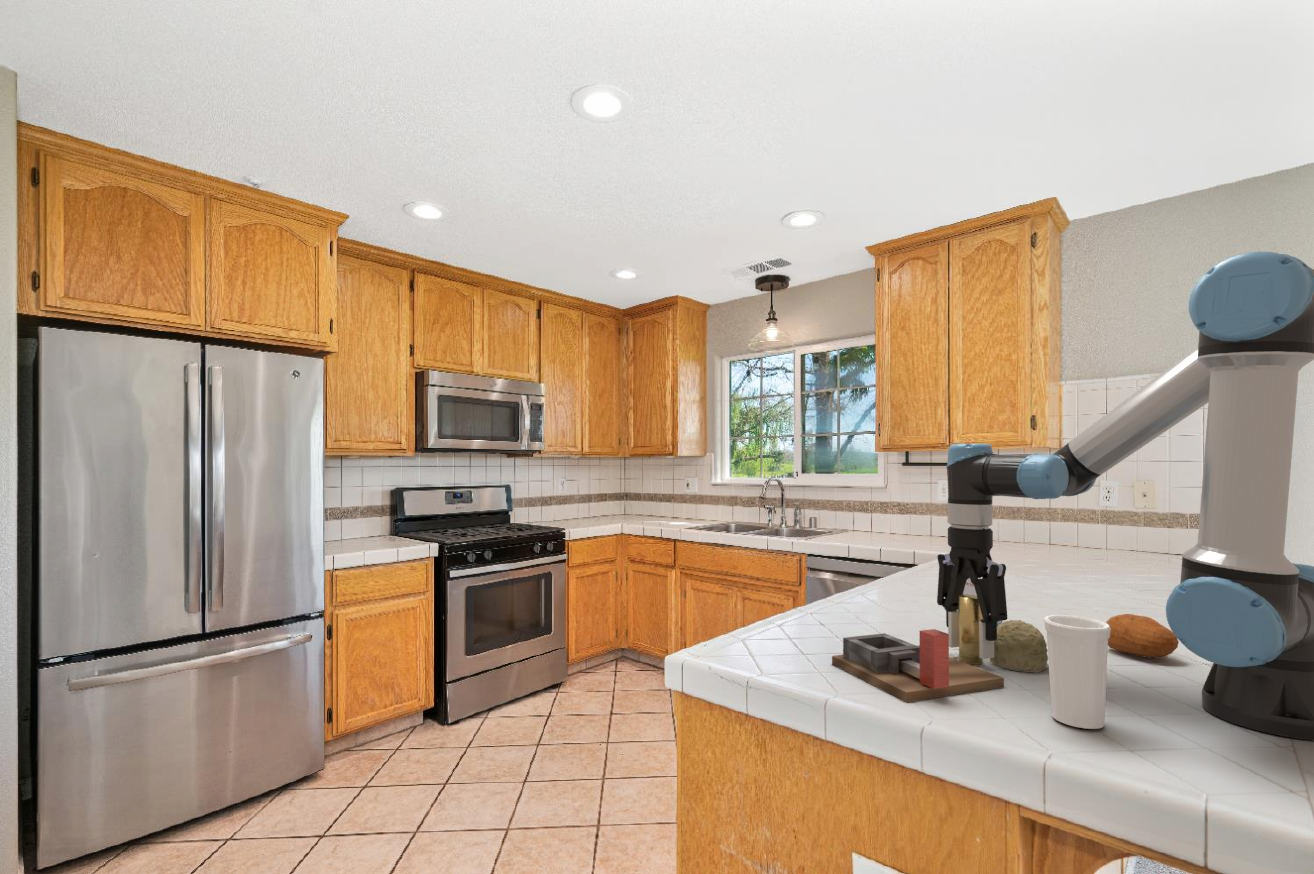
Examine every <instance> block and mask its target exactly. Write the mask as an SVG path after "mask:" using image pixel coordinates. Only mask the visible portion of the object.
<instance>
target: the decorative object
mask: <svg viewBox="0 0 1314 874" xmlns="http://www.w3.org/2000/svg"><path fill="white" fill-rule="evenodd" d="M1002 622H1003V623H1001V624H998V627H997V639H996V640H995V641H994V658H989V662H990V663H991V664H993V665H994V666H998V667H1001V668H1004V669H1007V670H1011V671H1017V672H1026V673H1027V672H1028V673H1039V672H1043V671H1045V669H1046V668H1047V664H1048V661H1049V660H1048V644H1047V641H1046V639H1045V637H1044V635H1043V634H1042V632H1041V630H1039V629H1038V627H1035V626H1034V625H1033V624H1032V623H1029V622H1028V623H1027V622H1025V621H1024V620H1023V621H1022V620H1021V619H1015V620H1014V619H1011V620H1010V619H1009V620H1004V621H1002Z"/></svg>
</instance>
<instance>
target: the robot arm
mask: <svg viewBox="0 0 1314 874" xmlns="http://www.w3.org/2000/svg"><path fill="white" fill-rule="evenodd" d="M1188 314H1189V317H1190V319H1191V321H1192V323H1193V325H1194V327H1195V328H1196V329H1197V330H1198V345H1197V346H1196V347H1195V348H1194V349H1191V351H1190V352H1189V353H1187V354H1186V355H1184V356H1183V357H1181V358H1179V359H1178V361H1176V362H1175V363H1173V364H1172V365H1170V366H1169V367H1168V368H1166V369H1165V370H1164V371H1163V372H1162V373H1160V374H1159V375H1157V376H1156V377H1155V378H1154V379H1152V380H1150V381H1149V382H1148V383H1146V384H1145V385H1144V386H1143V387H1141V388H1139V389H1138V390H1137V391H1135V392H1134V394H1132V395H1131V396H1129V397H1128V398H1126V399H1125V400H1123V401H1122V402H1120V403H1119V404H1118V405H1117V406H1115V407H1114V408H1113V409H1111V410H1110V411H1109V412H1108V413H1106V414H1105V415H1103V416H1102V417H1101V418H1100V419H1098V420H1096V421H1095V422H1094V423H1092V424H1091V425H1090V426H1089V427H1087V428H1086V429H1084V430H1083V431H1082V432H1081V433H1079V434H1078V435H1077V436H1075V437H1074V438H1072V439H1071V440H1070V441H1069V442H1067V443H1065V445H1063V446H1061V448H1059V449H1058V450H1057V451H1055V452H1054V453H1052V454H1046V453H1025V454H1024V453H1023V454H1022V453H1019V454H1017V453H1016V454H1015V453H1014V454H1013V453H1012V454H999V453H994V452H993V447H992V445H991V444H989V443H953V444H951V445H949V447H948V450H947V461H946V462H947V464H946V476H947V523H948V524H949V525H950V526H948V528H947V545H948V546H949V547H950V551H949V553H939V554H937V561H938V562H937V563H938V579H937V580H938V581H937V583H938V584H937V596H936V603H937V605H938V606H942V607H943V608H944V610H945V622H946V623H945V624H946V627H947V630H948V633H947V634H949V648H952V649H953V648H959V611H957V610H959V595H963V591H964V588H965V584H966V581H967V579H969V578H970V580H971V583H972V584H974V587H975V591H976V594H977V598H978V602H979V606H980V609H981V613H982V617H983V619H982V620H980V621H979V658H981V659H983V660H986V659H990V658H994V641H995V640H996V639H997V622H998V621H1002V622H1004V621H1008V607H1007V605H1008V604H1007V595H1006V583H1005V575H1006V572H1007V566H1006V564H1004V563H997V562H996V561H993V558H992V556H991V550H992V549H993V546H994V537H993V534H994V531H993V530H992V528H990V526H993V497H1011V498H1025V499H1026V498H1027V499H1033V500H1046V499H1047V500H1048V499H1049V500H1050V499H1052V500H1055V499H1058V498H1060V497H1074V496H1078V495H1081V494H1084V493H1086V492H1088V491H1089V490H1091V489H1092V487H1093V486H1094V485H1095V483H1096V480H1097V479H1098V478H1099V477H1100V476H1102V475H1103V474H1104V473H1106V472H1107V471H1109V470H1111V469H1112V468H1114V467H1115V466H1116V465H1118V464H1119V463H1121V462H1123V461H1124V460H1125V459H1126V458H1129V457H1130V456H1131V455H1133V454H1134V453H1135V452H1137V451H1139V450H1140V449H1142V448H1143V447H1145V446H1147V444H1149V443H1151V442H1152V441H1154V440H1155V439H1157V438H1158V437H1159V436H1161V435H1163V434H1164V433H1166V432H1167V431H1168V430H1170V429H1172V428H1173V427H1175V426H1176V425H1177V424H1179V423H1180V422H1182V421H1183V420H1185V419H1186V418H1188V417H1189V416H1191V415H1192V414H1194V413H1195V412H1196V411H1199V409H1202V407H1204V406H1205V405H1207V414H1206V415H1207V417H1206V418H1207V419H1206V429H1205V431H1206V432H1205V443H1204V456H1203V457H1204V459H1203V467H1202V482H1201V495H1200V509H1199V520H1198V521H1199V522H1198V533H1197V542H1196V544H1195V545H1193V547H1191V548H1190V549H1188V550H1186V551H1184V552H1183V553H1182V557H1181V570H1180V571H1181V572H1180V573H1181V574H1180V581H1179V584H1178V585H1177V586H1175V587H1174V588H1173V590H1172V591H1171V593H1170V594H1169V595H1168V598H1167V599H1166V604H1165V617H1166V620H1167V624H1168V626H1169V628H1170V630H1171V631H1172V632H1173V633H1174V635H1175V636H1176V638H1177V639H1178V641H1179V642H1180V643H1181V645H1183V646H1184V647H1185V648H1186V649H1187V650H1189V651H1190V652H1192V654H1195V655H1196V656H1198V657H1199V658H1201V659H1203V660H1205V661H1208V662H1210V663H1212V666H1211V668H1210V670H1209V672H1208V674H1207V677H1206V680H1205V682H1204V684H1203V686H1202V689H1201V706H1202V708H1203V709H1204V710H1205V711H1207V712H1208V713H1210V714H1211V715H1213V716H1215V717H1217V718H1219V719H1221V720H1224V721H1226V722H1229V723H1232V724H1235V725H1237V726H1241V727H1243V728H1244V727H1245V728H1248V729H1250V730H1254V731H1259V732H1263V733H1266V734H1271V735H1275V736H1281V737H1285V738H1286V737H1287V738H1293V739H1299V740H1308V741H1314V565H1310V564H1302V563H1293V562H1291V560H1289V559H1288V558H1287V557H1286V555H1285V554H1284V553H1285V543H1286V530H1287V520H1288V519H1287V517H1288V506H1289V495H1290V483H1291V481H1290V479H1291V469H1292V459H1293V458H1292V457H1293V456H1292V455H1293V443H1294V434H1295V433H1294V432H1295V420H1296V409H1297V408H1296V406H1297V398H1298V397H1297V395H1298V385H1299V384H1298V383H1299V372H1300V370H1302V369H1303V368H1304V367H1305V366H1306V365H1308V364H1310V363H1311V362H1313V361H1314V269H1313V268H1312V267H1310V266H1308V265H1307V264H1306V263H1305V262H1304V261H1302V260H1301V259H1300V258H1298V257H1295V256H1292V255H1289V254H1285V253H1279V252H1272V251H1250V252H1245V253H1241V254H1237V255H1234V256H1232V257H1229V258H1226V259H1225V260H1223V261H1221V262H1219V263H1218V264H1215V265H1214V266H1213V267H1211V268H1210V269H1208V271H1206V272H1205V273H1204V274H1202V276H1201V277H1200V278H1199V280H1198V281H1197V282H1196V283H1195V285H1194V287H1193V288H1192V290H1191V293H1190V295H1189V298H1188ZM981 577H982V578H981ZM978 578H981V579H978ZM989 614H990V615H989Z"/></svg>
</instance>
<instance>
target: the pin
mask: <svg viewBox="0 0 1314 874" xmlns="http://www.w3.org/2000/svg"><path fill="white" fill-rule="evenodd" d="M919 645H920V664H919V663H916V662H914V661H912V660H909V659H907V658H904V659H899V670H901V671H903V672H906V673H908V674H910V675H912V676H915V677H917V678H919V679H920V683H922V684H924V685H926V686H928V687H931V688H933V689H937V688H944V687H949V657H950V647H949V634H948V633H947V632H944V631H941V630H939V629H935V628H933V629H923V630H922V629H921V630H919Z"/></svg>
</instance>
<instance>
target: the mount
mask: <svg viewBox="0 0 1314 874" xmlns="http://www.w3.org/2000/svg"><path fill="white" fill-rule="evenodd" d="M842 638H843V639H842V641H843V643H842V644H843V645H842V646H843V647H842V648H843V649H842V654H835V655H831V664H832V665H834V666H835V667H837V668H839V669H840V670H843V671H845V672H847V673H849V674H851V675H852V676H855V677H856V678H858V679H860V680H862V681H864V682H866V683H868V684H870V685H872V686H874V687H876V688H878V689H880V690H882V691H884V692H886V693H888V694H889V695H891V696H894V697H896V698H897V699H899V700H902V701H903V702H906V703H910V702H917V701H922V700H929V699H935V698H944V697H949V696H956V695H960V694H961V695H962V694H967V693H969V694H970V693H974V692H981V691H986V690H994V689H1000V688H1005V677H1004V676H1003V677H1002V676H1001V675H997V674H995V673H992V672H990V671H988V670H985V669H982V668H980V667H978V666H972V665H969V664H967V663H964V662H961V661H959V659H956V658H953V657H951V656H949V687H944V688H937V689H933V688H931V687H928V686H926V685H924V684H922V683H920V679H919V678H917V677H915V676H912V675H910V674H908V673H906V672H903V671H901V670H899V659H904V658H907V659H909V660H912V661H914V662H916V663H919V664H920V644H919V645H915V644H914V643H911V642H909V641H906V640H903V639H900V638H897V637H895V636H893V635H890V634H887V633H885V632H883V633H876V634H874V633H873V634H867V635H866V634H865V635H857V636H856V635H855V636H846V637H842Z"/></svg>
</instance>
